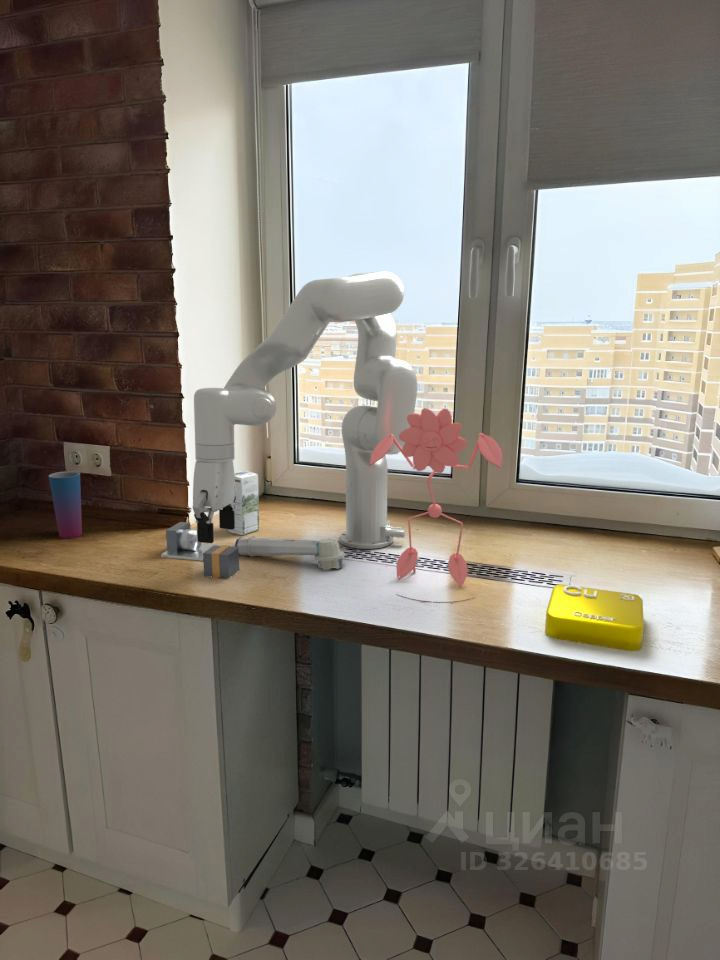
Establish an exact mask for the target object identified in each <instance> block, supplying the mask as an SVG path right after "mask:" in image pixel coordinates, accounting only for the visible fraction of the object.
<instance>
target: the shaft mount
mask: <svg viewBox="0 0 720 960" xmlns="http://www.w3.org/2000/svg"><path fill="white" fill-rule="evenodd" d="M165 537H166V540H165V541H166V551H164V552H162V553H161V554H160V557H161V558H166V559H179V560H189V561H200V562H203V553H204V552H205V551H207V550H208V549H209V548H211V547H212V546H214V545H217V546H222V545H223V544H214V543H202V542H198V539H197V529H191V522H187V521H186V522H185V521H179V522H177V523H176V524H174V525H173V526H170V527H168V528H167V529H165ZM230 547H235V545H230Z"/></svg>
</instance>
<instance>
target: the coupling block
mask: <svg viewBox="0 0 720 960" xmlns="http://www.w3.org/2000/svg"><path fill="white" fill-rule="evenodd" d="M217 545H218V544H215V545H214V546H212V547H211V548H209V549H208V550H207V551H205V552H204V553H203V561H202V564H203V576H204V577H205V576H212V577H211V578H213V577H222V578H221V579H225V578H230V577H231V576H232V577H233V576H235V575H236V574H237V573H238V572H239V571H240V555H239V547H230V546H231V545H227V544H221V545H222V546H217ZM237 571H238V572H237ZM236 572H237V573H236ZM235 573H236V574H235ZM232 577H231V578H232ZM231 578H230V579H231Z"/></svg>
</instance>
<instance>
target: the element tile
mask: <svg viewBox="0 0 720 960" xmlns="http://www.w3.org/2000/svg"><path fill="white" fill-rule="evenodd" d="M643 602H644V601H643V598H642V597H641V596H639V594H635V593H630V592H629V593H628V592H621V591H615V590H614V591H613V590H606V589H599V588H590V587H586V586H585V587H583V586H577V585H573V584H572V585H569V584H563V583H562V584H561V583H559V584H556V585H555V586H553V588H552V590H551V595H550V597H549V601H548V603H547V608H546V611H545V624H544V634H545V633H546V634H545V635H546V636H547V637H548V638H552V639H555V640H559V639H560V640H561V641H565V640H566V641H567V642H573V643H578V642H580V643H579V644H584V643H585V645H591V646H596V647H597V646H598V647H603V648H609V649H615V650H622V651H628V652H637V651H639V650H641V649H642V646H643V636H644V631H645V630H644V629H645V624H644V603H643Z"/></svg>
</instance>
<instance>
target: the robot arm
mask: <svg viewBox="0 0 720 960" xmlns="http://www.w3.org/2000/svg"><path fill="white" fill-rule="evenodd" d="M404 296H405V289H404V285H403V283H402V280H401V279H400V278H399V276H397V275H396V274H394V273H393V272H389V271H375V272H361V273H355V274H351V275H348V276H347V277H336V278H335V277H334V278H325V279H324V278H323V279H314V280H311V281H308V282H307V283H305V284H304V285H303V286H302V287H301V289H300V290H299V292H298V293H297V294H296V296H295V297H294V299H293V301H292V302H291V303H290V305H289V306H288V307H287V310H286V311H285V313H284V314H283V316H282V317H281V319H280V320H279V322H278V323H277V324H276V326H275V328H274V329H273V330H272V332H271V333H270V335H268V336H267V337H266V339H264V340H263V341H262V342H261V343H259V345H258V346H257V347H256V348H255V349H254V350H252V352H250V353H249V354H248V355H247V356H246V357H245V358H244V359H243V360H242V361H241V362H240V363H239V365H238V366H237V368H236V369H235V370H234V371H233V372H232V374H231V376H230V378H229V379H228V380H227V382H226V384H225V386H223V388H222V387H203V388H199V389H197V390H196V391H195V392H194V395H193V415H194V422H193V423H194V448H195V449H194V450H195V452H194V454H195V464H194V470H193V471H194V472H193V479H192V480H193V483H192V510H193V516H194V519H195V523H196V530H197V539H198V542H202V543H203V544H214V542H215V539H214V538H215V537H214V533H215V531H214V522H212V520H213V518H214V513H215V512H218V511H219V513H218V514H219V516H218V517H219V520H218V521H219V529H221V530H222V529H224V530H227V529H231V530H233V529H234V528H235V511H234V510H235V504H234V503H235V500H236V496H235V495H236V489H237V487H236V485H235V477H234V473H235V469H234V460H235V425H242V426H251V427H252V426H254V427H258V426H262V425H265V424H267V423H269V422H270V421H271V420H272V419H273V418H274V416H275V415H276V413H277V402H276V399H275V398H274V396H273V395H272V394H271V392H269V391H268V390H266V389H265V388H266V386H267V385H268V384H269V383H270V382H271V381H272V380H273V379H274V378H275V377H277V376H278V375H280V374H282V373H283V372H284V371H287V370H290V369H291V368H294V367H295V366H298V365H299V364H301V363H302V362H304V361H305V360H306V359H307V358H308V356H309V354H310V353H311V351H312V350H313V348H314V346H315V345H316V343H317V342H318V340H319V339H320V337H321V336H322V334H323V333H324V332H325V330H326V328H327V327H328V326H329V324H330V323H344V322H345V323H346V322H347V323H348V322H354V323H355V324H356V328H357V329H356V330H357V336H358V337H357V339H358V340H357V350H356V355H355V356H356V358H355V365H354V373H353V389H354V391H355V393H356V394H357V395H358V396H359V397H360V398H362V399H366V400H370V401H373V402H374V401H375V402H377V406H373V405H372V406H371V405H357V406H355V407H353V408H351V409H350V410H349V411H347V413H345V414H344V417H343V419H342V422H341V435H342V442H343V446H344V447H343V448H344V456H345V531H343V532H341V533H340V535H339V543H340V544H342V545H344V546H345V547H349V548H352V549H358V550H359V549H360V550H374V549H382V548H385V547H388V546H389V545H392V544H393V543H394V538H398V539H399V538H401V539H404V538H406V537H405V536H406V529H403V527H401V526H392V525H391V520H388V471H389V470H388V462H387V461H388V460H387V457H386V455H390V456H392V455H396V454H399V453H401V451H400V450H399V448H398V447H397V446H396V444H395V443H394V441H393V443H392V446H391V448H390V450H389V451H388V453H387V454H386V455H385V456H384V457H383V458H382V459H380V460H379V461H377V462H376V463H374V464H373V465H370V459H371V454H372V452H373V450H374V448H375V447H376V446H377V444H378V443H379V442H380V441H382V440H383V439H384V438H385V437H388V436H390V435H391V434H393V435H394V438H395V439H396V441H397V442H398V444H399V445H400V446H401V448H402V449H403V446H404V444H405V442H403V441H402V440H400V439H399V434H400V433H401V432H402V431H403V430H405V429H407V428H410V425H409V423H408V421H407V416H408V415H409V414H411V413H415V411H416V410H415V409H416V405H417V404H416V403H417V395H418V377H417V375H416V372H415V370H414V368H413V367H412V365H411V364H410V363H408V362H407V361H405V360H402V359H399V358H396V351H397V336H398V335H397V334H398V333H397V326H396V324H395V323H396V322H395V321H394V319H393V316H392V313H394V312H395V311H397V310H398V308H399V307H401V304H402V303H403V300H404ZM206 513H207V514H206Z"/></svg>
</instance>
